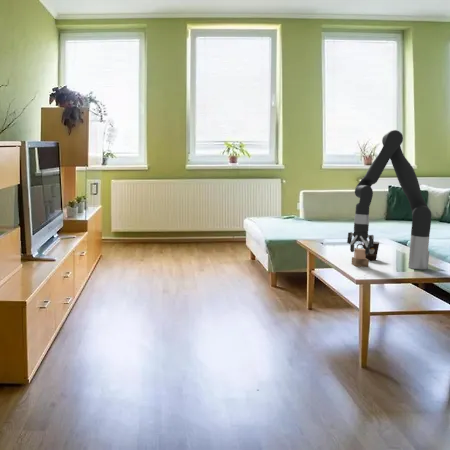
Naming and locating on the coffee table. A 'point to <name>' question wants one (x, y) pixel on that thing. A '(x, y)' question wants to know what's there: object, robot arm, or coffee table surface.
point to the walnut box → (360, 262)
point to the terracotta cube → (359, 253)
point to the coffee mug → (371, 251)
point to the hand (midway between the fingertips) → (359, 253)
